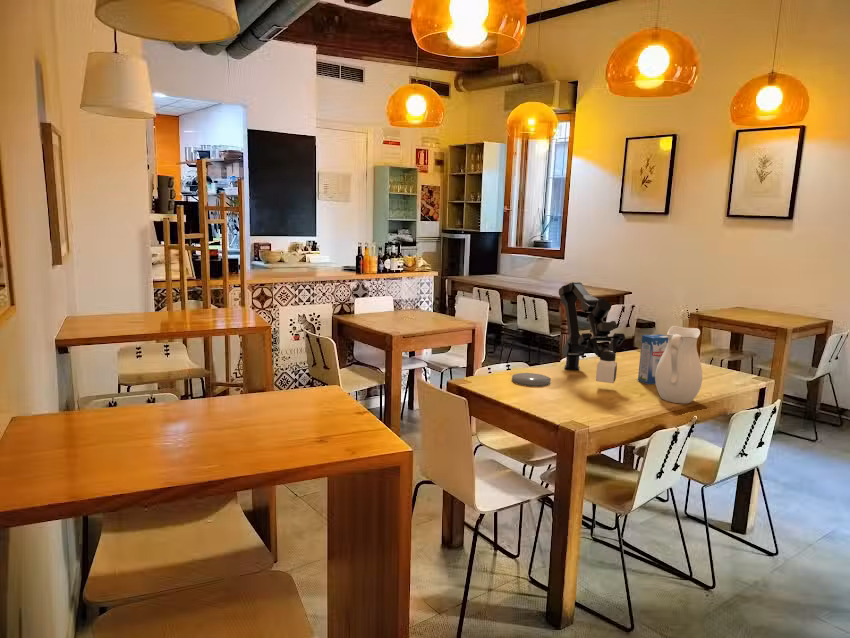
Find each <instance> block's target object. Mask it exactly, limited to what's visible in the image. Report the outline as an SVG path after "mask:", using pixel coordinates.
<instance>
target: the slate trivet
mask: <svg viewBox="0 0 850 638" xmlns="http://www.w3.org/2000/svg"><path fill="white" fill-rule="evenodd" d="M511 382H513V383H514V384H516V383H517V385H519V384H520V385H519V386H524V385H526V387H533V386H537V387H538V388H539V387H547V386H549V385H551V378H550V377H549V376H547V375H545V374H540V373H534V372H519V373H514V374H512V375H511Z"/></svg>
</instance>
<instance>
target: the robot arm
mask: <svg viewBox="0 0 850 638" xmlns="http://www.w3.org/2000/svg"><path fill="white" fill-rule="evenodd" d="M586 289H587V288H585V287H584V285H583V283H582V282H580V281H572V282H569V283H568V284H564V285H562V286H561V287H560V288H559V289H558V296H559V298H560V302H561V303H562V304H563V305H564V310H565V317H566V318H565V319H566V326H567V332H568V334H567V335H568V336H567V338H566V340H565V345H564V347H563V348H562V351H561V352H562V355H563V356H565V357H566V360H565V365H564V370H569V371H580V366H579V365H580V357H584V356H585V353H586V350H587V348H588V349H589V350H590V351H592V352H593V353H594V355H596V357H598V358H600V352H601V351H600V349H599V345H598V342H608V343H609V344H608V346H607V347H608V349H609V351H612V352H614V353H615V354H616V350H617V346H621V345H622V344H623V342H624V341H625V340H626V334H625V333H623V332H615V333H613V335H612V336H611V335H610V334H611V331H614V330H615V329H617V328H618V325H617V322H616V320H611V321H609V322H608V321H604V318H606V317H607V315H608V313H609V312H610V311H611V310H612V305H611V303H610V302H609V301H607V300H606V299H605V298H604V297H600V298H597V297H596V296H595V297H594V296H592V295H590V293H589V292H588V290H586ZM577 301H579V302H580V303H581V304H580V305H581V306H580V307H581V310H582V312H583V313H585V314H587V313H588V315H587V318H586V322H587V323H589V327H590V330H589V332H582V333H581V334H580V329H579V322H578V320H579V319H578V313H577V306H576V303H577ZM609 335H610V336H609Z"/></svg>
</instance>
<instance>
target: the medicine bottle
mask: <svg viewBox="0 0 850 638" xmlns="http://www.w3.org/2000/svg"><path fill="white" fill-rule="evenodd" d="M599 352H600V357H599V361H598V363H597V364H596V371H595V374H596V375H595V382H599V383H601V382H602V383H609V384H614V383H615V382H616V380H617V370H618V362H616V356H617V354H616V352H615V353H614V352H612V351H610V350H602V351H599Z"/></svg>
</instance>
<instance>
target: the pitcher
mask: <svg viewBox="0 0 850 638" xmlns="http://www.w3.org/2000/svg"><path fill="white" fill-rule="evenodd" d="M700 335H701V330H700V329H699V328H697V327H683V326H679V325H671V326H670V327H669V329H668V330H667V333H666V336H668V344H667V347H666V349H665V351H664V353H663V355H662V356H661V358H660V360H659V363H658V365H657V368H656V373H655V383H656V384H655V387H656V390H657V392H658V394H659V396H660V398H661V399H662V400H664V401H666V402H670V403H673V404H683V405H684V404H690V403H691V402H693V400H694V399H695V398H696V397H697V396H698V394H699V393H700V390H701V387H702V383H703V368H702V363H701V360H700V357H699V356H700V355H699V353H698V349H697V344H698V343H697V342H698V339H699V338H700Z"/></svg>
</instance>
